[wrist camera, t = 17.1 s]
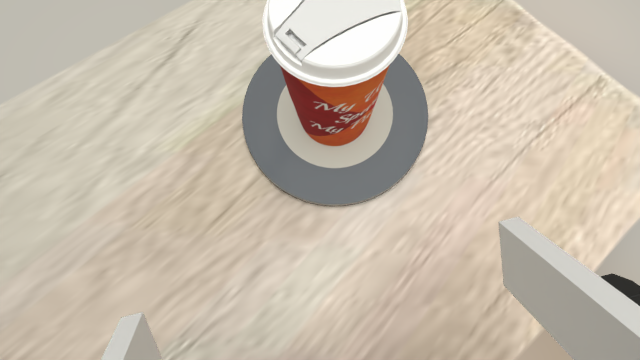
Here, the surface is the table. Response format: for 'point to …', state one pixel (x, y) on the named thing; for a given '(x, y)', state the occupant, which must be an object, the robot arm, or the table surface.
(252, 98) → the saucer
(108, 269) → the table surface
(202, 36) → the table surface
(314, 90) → the coffee cup
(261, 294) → the table surface
